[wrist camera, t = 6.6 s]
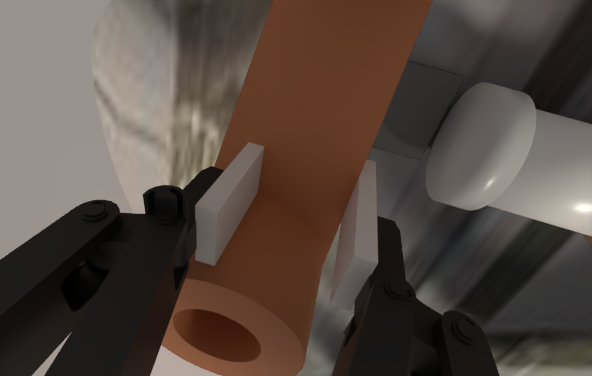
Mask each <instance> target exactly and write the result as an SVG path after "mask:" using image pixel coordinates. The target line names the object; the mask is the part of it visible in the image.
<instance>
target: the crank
mask: <svg viewBox="0 0 592 376" xmlns="http://www.w3.org/2000/svg"><path fill="white" fill-rule="evenodd" d="M432 1H433V0H273V2H272V5H271V8H270V11H269V13H268V16H267V19H266V22H265V25H264V28H263V30H262V33H261V36H260V39H259V42H258V44H257V47H256V50H255V53H254V56H253V59H252V61H251V64H250V67H249V70H248V73H247V76H246V78H245V81H244V84H243V87H242V90H241V92H240V95H239V98H238V101H237V104H236V107H235V109H234V112H233V115H232V118H231V121H230V124H229V126H228V129H227V132H226V135H225V138H224V141H223V143H222V146H221V149H220V152H219V155H218V157H217V160H216V163H215V166H214V167H216V168H219V169H222V170H225V169H226V168H227V167H228V166H229V165H230V164H231V162H232V161H233V160H234V159H235V158H236V156H237V155H238V154H239V153H240V152H241V151H242V149H243V148H244V147H245V146H246V145H247V143H248V142H251V143H254V144H257V145H261V146H264V153H263V160H262V166H261V173H260V179H259V186H258V192H257V194H256V196H255V198H254V199H253V201H252V203H251V205H250V206H249V208H248V210H247V211H246V213H245V215H244V217H243V218H242V220H241V222H240V223H239V225H238V227H237V229H236V230H235V232H234V234H233V235H232V237H231V239H230V241H229V242H228V244H227V246H226V247H225V249H224V251H223V253H222V254H221V256H220V258H219V259H218V261H217V263H216V265H215V266H212V265H209V264H206V263H203V262H200V261H197V260H195V252H194V254H193V255H192V256H191V258H190V259H189V270H188V272H187V275H186V278H185V281H184V283H183V286H182V289H181V292H180V294H179V297H178V300H177V303H176V305H175V308H174V311H173V314H172V316H171V319H170V322H169V325H168V327H167V330H166V333H165V336H164V338H163V341H162V344H161V345H162V346H164V347H165V348H167V349H168V350H170V351H171V352H173V353H174V354H176V355H177V356H179V357H181V358H182V359H184V360H186V361H188V362H190V363H192V364H194V365H196V366H199V367H201V368H203V369H205V370H208V371H210V372H214V373H216V374H219V375H223V376H295V375H296V374H297V373H298V372H299V371H300V370H301V369H302V367H303V365H304V362H305V356H306V351H307V346H308V340H309V335H310V330H311V324H312V319H313V314H314V308H315V303H316V298H317V292H318V287H319V282H320V276H321V271H322V266H323V264H324V261H325V259H326V256H327V254H328V251H329V249H330V247H331V244H332V242H333V239H334V237H335V235H336V232H337V230H338V227H339V225H340V223H341V220H342V217H343V214H344V212H345V209H346V207H347V205H348V202H349V200H350V197H351V195H352V192H353V190H354V188H355V185H356V183H357V180H358V178H359V176H360V174H361V172H362V169H363V167H364V165H365V162H366V160H367V157H368V155H369V153H370V150H371V148H372V145H373V143H374V141H375V138H376V136H377V133H378V131H379V128H380V126H381V124H382V121H383V119H384V116H385V114H386V112H387V109H388V107H389V104H390V102H391V100H392V97H393V95H394V92H395V90H396V87H397V85H398V83H399V80H400V78H401V75H402V73H403V71H404V68H405V66H406V63H407V61H408V59H409V56H410V54H411V51H412V49H413V46H414V44H415V42H416V39H417V37H418V34H419V32H420V30H421V27H422V25H423V22H424V20H425V17H426V15H427V13H428V10H429V8H430V5H431V3H432Z"/></svg>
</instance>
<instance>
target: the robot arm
mask: <svg viewBox="0 0 592 376" xmlns="http://www.w3.org/2000/svg"><path fill="white" fill-rule="evenodd" d="M263 153H264V146H261V145H257V144H254V143H251V142H248V143H247V145H246V146H245V147H244V148H243V149H242V151H241V152H240V153H239V154H238V155H237V156H236V158H235V159H234V160H233V161H232V162H231V164H230V165H229V166H228V167H227V168H226V169H225V170H222V169H219V168H216V167H212V166H211V167H209V168H206V169H204V170H202V171H201V172H200V173H199V174H198V175H197V176H196V177H195V178H194V179H193V180H192V181H191V182H190V183H189V185H187V186H186V187H185V188H184V189H183V190H182V189H181V188H179V187H175V186H170V185H162V186H157V187H154V188H151V189H149V190H147V191H146V192H145V193H144V194H143V199H144V206H145V213H146V214H131V213H120V210H119V207H118V206H117V204H115V203H113V202H112V201H107V200H93V201H89V202H86V203H83V204H81V205H79V206H77V207H75V208H74V209H72V210H71V211H70V212H68V213H67V214H65V215H64V216H62V217H61V218H60V219H58V220H57V221H55V222H54V223H52V224H51V225H49V226H48V227H47V228H46V229H44V230H42V231H41V232H40V233H38V234H37V235H35V236H34V237H32V238H31V239H29V240H28V241H27V242H25V243H24V244H22V245H21V246H19V247H18V248H16V249H15V250H14V251H12V252H11V253H9V254H8V255H6V256H5V257H4V258H2V259H1V260H0V376H32V374H33V373H34V372H35V371H36V370H37V369H38V368H39V367H40V366H41V364H43V362H44V361H45V360H46V359H47V358H48V357H49V356H50V355H51V354H52V353H53V351H54V350H55V349H56V348H57V347H58V346H59V345H60V344H61V343H62V342H63V341H64V339H65V338H66V337H67V336H68V335H69V334H70V333H71V332H72V333H71V334H70V336H69V337H68V339H67V340H66V342H65V344H64V345H63V347H62V348H61V350H60V352H59V353H58V355H57V356H56V358H55V360H54V361H53V363H52V364H51V366H50V368H49V369H48V371H47V372H46V374H45V375H44V376H150V374H151V371H152V369H153V366H154V363H155V360H156V357H157V355H158V352H159V349H160V346H161V344H162V341H163V338H164V336H165V333H166V330H167V327H168V325H169V322H170V319H171V316H172V314H173V311H174V308H175V305H176V303H177V300H178V297H179V294H180V292H181V289H182V286H183V283H184V281H185V278H186V275H187V272H188V270H189V259H190V258H191V256H192V255H193V254H194V252H195V260H197V261H200V262H203V263H206V264H209V265H212V266H215V265H216V263H217V261H218V259H219V258H220V256H221V254H222V253H223V251H224V249H225V247H226V246H227V244H228V242H229V241H230V239H231V237H232V235H233V234H234V232H235V230H236V229H237V227H238V225H239V223H240V222H241V220H242V218H243V217H244V215H245V213H246V211H247V210H248V208H249V206H250V205H251V203H252V201H253V199H254V198H255V196H256V194H257V192H258V186H259V179H260V173H261V166H262V160H263ZM354 303H355V308H354V316H353V318H352V319H351V321H350V323H349V324H348V326H347V328H346V329H345V331H344V332H343V333H344V334H346V335H345V338H344V341H343V344H342V347H341V350H340V353H339V356H338V359H337V362H336V365H335V368H334V371H333V374H332V376H499V373H498V370H497V367H496V364H495V361H494V358H493V355H492V353H491V350H490V347H489V344H488V341H487V338H486V337H485V335H484V333H483V331H482V329H481V328H480V327H479V326H478V325H477V323H476V322H475V321H473V320H472V319H471V318H470V317H468V316H467V315H465V314H463V313H461V312H458V311H451V310H450V311H447V312H445V313H444V314H443V315H441V314H439V313H438V312H436V311H434V310H433V309H431V308H429V307H428V306H426V305H425V304H423V303H422V302H421V301H419V300H418V299H417V298H416V294H415V292H414V290H413V288H412V286H411V285H410V284H409V283H408V282H407V281H406V278H405V269H404V261H403V252H402V244H401V235H400V230H399V228H398V227H397V225H396V223H395V222H394V221H392V220H389V219H385V218H382V217H379V216H377V189H376V162H375V161H372V160H368V159H367V160H366V162H365V165H364V167H363V169H362V172H361V174H360V176H359V178H358V180H357V183H356V185H355V188H354V190H353V192H352V195H351V197H350V200H349V202H348V205H347V207H346V209H345V212H344V214H343V217H342V220H341V227H340V235H339V242H338V249H337V256H336V264H335V271H334V278H333V285H332V293H331V300H330V304H331V305H334V306H337V307H340V308H343V309H346V310H349V311H350V310H351V308H352V307H353V305H354Z"/></svg>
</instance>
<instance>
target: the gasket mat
mask: <svg viewBox="0 0 592 376" xmlns="http://www.w3.org/2000/svg"><path fill="white" fill-rule="evenodd" d="M464 78H465V77H464V76H461V75H457V74H453V73H449V72H446V71H442V70H438V69H435V68H431V67H427V66H424V65H420V64H416V63H412V62H409V61H407V63H406V66H405V68H404V71H403V73H402V75H401V78H400V80H399V83H398V85H397V87H396V90H395V92H394V95H393V97H392V100H391V102H390V104H389V107H388V109H387V112H386V114H385V116H384V119H383V121H382V124H381V126H380V128H379V131H378V133H377V136H376V138H375V141H374V143H373V145H372V147H375V148H379V149H382V150H385V151H389V152H392V153H396V154H399V155H403V156H406V157H410V158H413V159H416V160H420V159H421V157H422V155H423V153H424V152H425V150H426V148H427V146H428V144H429V142H430V141H431V139H432V137H433V135H434V133H435V131H436V129H437V128H438V126H439V124H440V122H441V120H442V118H443V117H444V115H445V113H446V111H447V109H448V107H449V106H450V104H451V102H452V100H453V98H454V96H455V94H456V93H457V91H458V89H459V87H460V85H461V83H462V82H463V80H464Z"/></svg>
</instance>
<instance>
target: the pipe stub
mask: <svg viewBox="0 0 592 376" xmlns="http://www.w3.org/2000/svg"><path fill="white" fill-rule="evenodd" d="M425 183H426V190H427V193H428V195H429V197H430V198H431V199H433V200H435V201H438V202H441V203H444V204H448V205H451V206H455V207H458V208H461V209H465V210H477V209H480V208H482V207H485V206H486V205H487V206H491V207H494V208H498V209H501V210H504V211H508V212H511V213H514V214H518V215H521V216H525V217H528V218H531V219H535V220H538V221H542V222H545V223H548V224H552V225H555V226H558V227H562V228H565V229H569V230H572V231H575V232H579V233H581V234H582V235H583V236H584V237H585V238H586V239H587V240H588V242H589V243H590V244H591V245H592V124H589V123H585V122H582V121H578V120H574V119H571V118H567V117H563V116H560V115H556V114H552V113H549V112H545V111H541V110H538V109H535V105H534V102H533V100H532V99H531V97H530V96H529V95H528V94H526V93H524V92H521V91H517V90H514V89H510V88H506V87H502V86H499V85H495V84H491V83H488V82H482V83H478V84H476V85H474V86H473V87H471V88H470V89H469V90H467V91H466V92H465V93H464V94H463V95H462V96H461V97H460V98H459V99H458V101H457V102H456V103H455V104H454V106H453V107H452V108H451V110H450V111H449V113H448V115H447V116H446V118H445V120H444V121H443V123H442V125H441V127H440V129H439V131H438V133H437V135H436V138H435V140H434V143H433V145H432V148H431V151H430V155H429V158H428V163H427V168H426V176H425Z"/></svg>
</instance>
